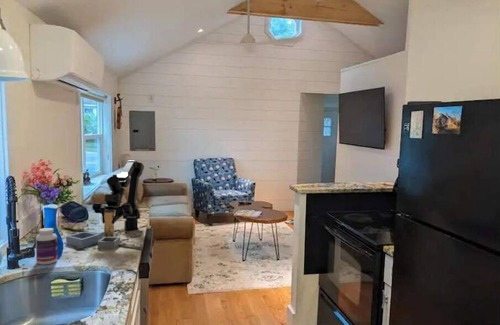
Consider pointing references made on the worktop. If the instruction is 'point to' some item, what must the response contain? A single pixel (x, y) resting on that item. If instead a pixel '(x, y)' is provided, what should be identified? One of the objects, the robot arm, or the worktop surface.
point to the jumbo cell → (108, 222)
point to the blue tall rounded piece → (42, 217)
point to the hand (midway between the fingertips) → (108, 223)
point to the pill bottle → (46, 246)
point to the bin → (82, 239)
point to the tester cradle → (108, 242)
